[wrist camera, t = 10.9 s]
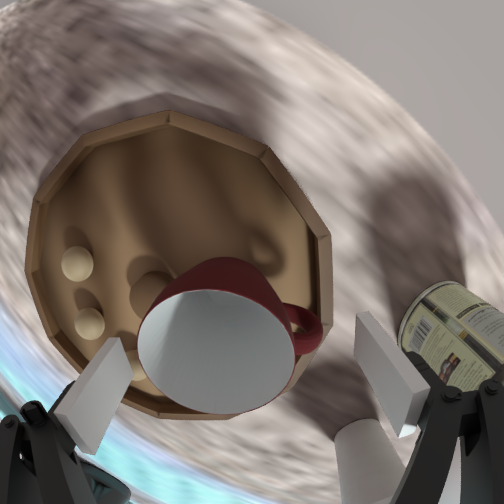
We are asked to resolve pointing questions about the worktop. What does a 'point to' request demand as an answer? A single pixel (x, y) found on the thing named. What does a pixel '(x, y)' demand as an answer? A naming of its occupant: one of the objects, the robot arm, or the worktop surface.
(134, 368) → the bead
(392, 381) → the robot arm
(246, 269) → the mug
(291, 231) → the ring tray
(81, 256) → the bead
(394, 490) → the coffee cup
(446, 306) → the coffee can
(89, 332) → the bead
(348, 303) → the worktop surface
